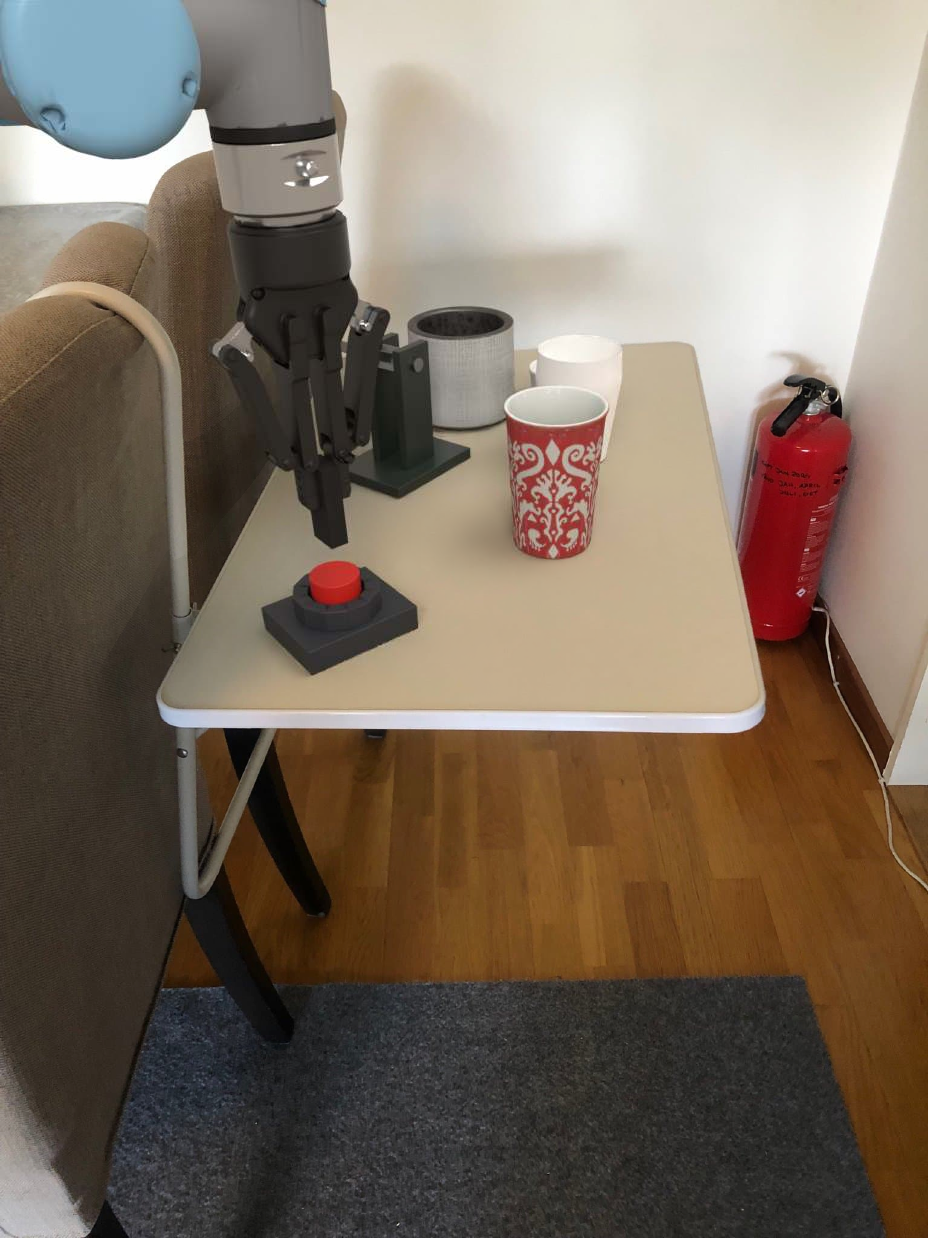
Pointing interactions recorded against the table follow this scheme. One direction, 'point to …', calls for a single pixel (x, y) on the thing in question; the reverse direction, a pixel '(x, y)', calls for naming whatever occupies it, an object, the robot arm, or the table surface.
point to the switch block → (338, 622)
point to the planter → (467, 364)
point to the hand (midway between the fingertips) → (331, 539)
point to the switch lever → (380, 355)
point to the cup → (583, 369)
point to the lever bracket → (404, 427)
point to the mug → (554, 467)
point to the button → (335, 582)
